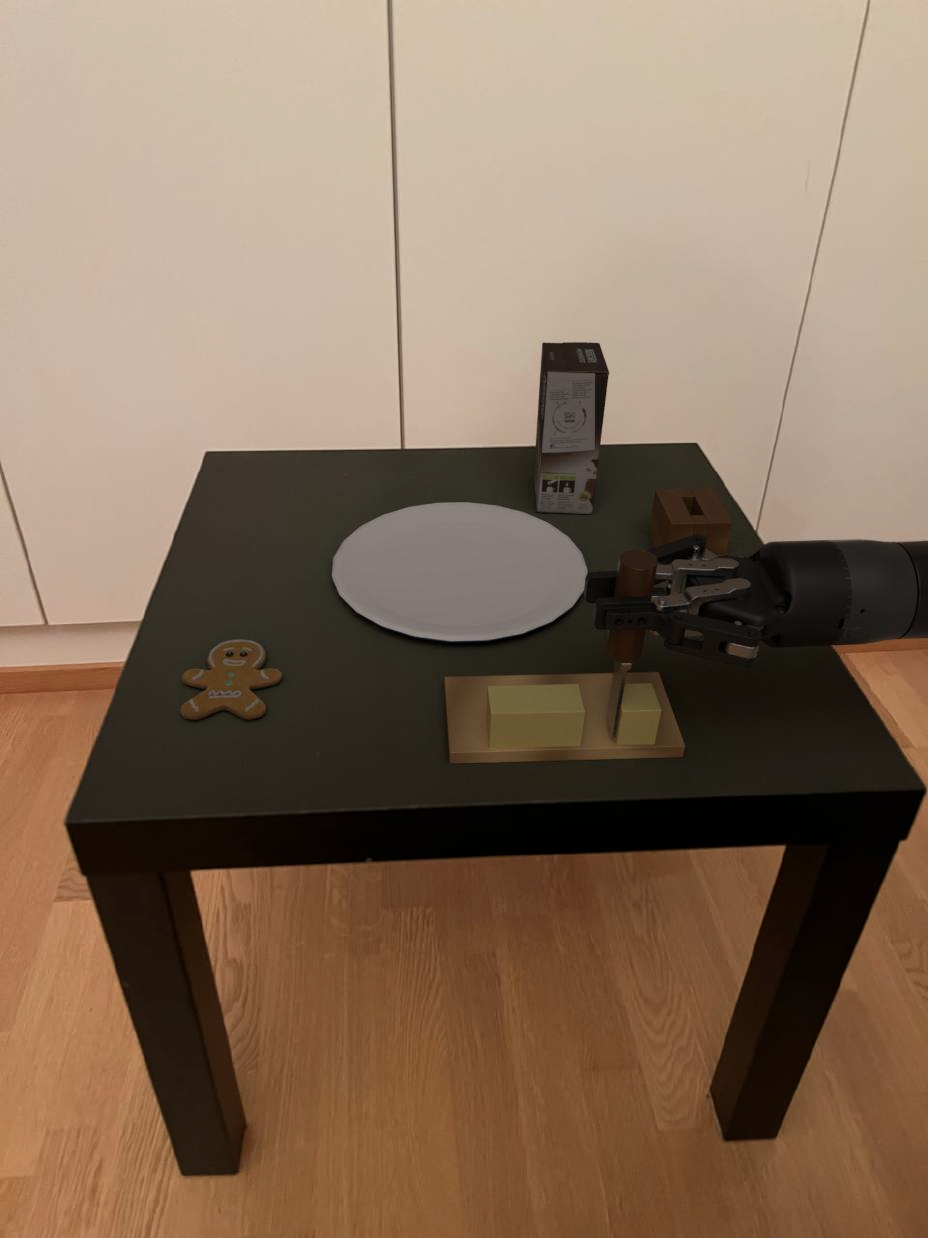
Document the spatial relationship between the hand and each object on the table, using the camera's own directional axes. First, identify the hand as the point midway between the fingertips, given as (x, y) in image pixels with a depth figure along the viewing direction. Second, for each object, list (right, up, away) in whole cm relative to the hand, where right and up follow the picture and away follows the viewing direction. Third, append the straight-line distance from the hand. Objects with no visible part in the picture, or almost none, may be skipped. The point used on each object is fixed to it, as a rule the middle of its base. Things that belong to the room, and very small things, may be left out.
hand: (591, 601), depth 66 cm
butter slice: (+4, -10, +8) cm, 13 cm away
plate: (-9, +3, +28) cm, 29 cm away
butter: (-4, -10, +7) cm, 13 cm away
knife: (+2, -10, +7) cm, 12 cm away
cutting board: (-1, -9, +10) cm, 14 cm away
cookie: (-28, -7, +13) cm, 32 cm away
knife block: (+14, +6, +32) cm, 35 cm away
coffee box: (+2, +13, +41) cm, 43 cm away
